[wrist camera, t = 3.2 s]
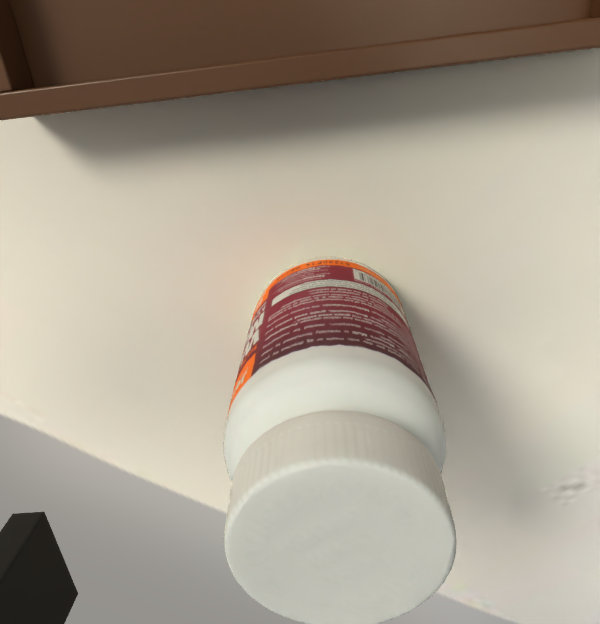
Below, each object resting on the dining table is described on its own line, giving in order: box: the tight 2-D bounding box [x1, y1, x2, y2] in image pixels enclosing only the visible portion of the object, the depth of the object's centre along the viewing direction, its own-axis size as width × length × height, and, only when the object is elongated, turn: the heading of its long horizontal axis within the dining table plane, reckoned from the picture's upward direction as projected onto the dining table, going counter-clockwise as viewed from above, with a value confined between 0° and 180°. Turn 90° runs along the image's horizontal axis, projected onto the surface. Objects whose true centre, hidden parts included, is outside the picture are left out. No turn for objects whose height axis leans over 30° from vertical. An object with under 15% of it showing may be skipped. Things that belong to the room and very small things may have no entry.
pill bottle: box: [223, 257, 456, 624], centre depth 17 cm, size 6×6×11 cm
